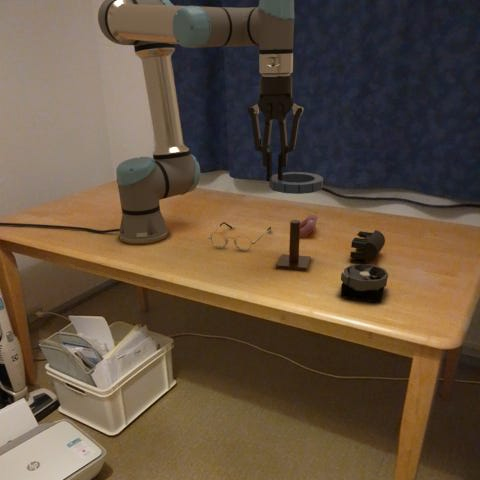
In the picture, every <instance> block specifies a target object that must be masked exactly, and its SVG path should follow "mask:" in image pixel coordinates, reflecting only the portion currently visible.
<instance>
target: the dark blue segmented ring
mask: <svg viewBox="0 0 480 480" xmlns="http://www.w3.org/2000/svg"><path fill="white" fill-rule="evenodd" d="M268 183H269V184H268V188H270V190H272V191H274V192H278V193H282V194H291V195H292V194H293V195H304V194H313V193H316V192H320V191H321V190H322V189H323V186H324V177H323V176H321V175H320V174H317V173H311V172H307V171H304V172H303V171H289V172H288V171H287V172H283V179H282V181H281V180H279V179H278V173H275V174H272V176H271V177H270V178H269V181H268Z"/></svg>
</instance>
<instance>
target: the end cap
mask: <svg viewBox="0 0 480 480" xmlns="http://www.w3.org/2000/svg"><path fill="white" fill-rule="evenodd" d="M356 236H357V237H354V238H353V239H352V240H351V244H350V248H353V249H355V251H350V254H349V257H350V260H349V261H350V263H352V264H369V265H370V263H373V261H375V260H376V259H377V257H378V256H379V254H380V252H381V251H382V249H383V248H384V246H385V245H386V238H385V236H384V234H383V232H381V231H380V230H378V229H377V230H376V229H375V230H374V231H373V232H369V231H361V230H359V231H358V233H357V235H356Z"/></svg>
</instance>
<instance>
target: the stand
mask: <svg viewBox="0 0 480 480" xmlns="http://www.w3.org/2000/svg"><path fill="white" fill-rule="evenodd" d="M300 223H301V220H299V219H292V220H290V221H289V247H288V248H289V249H288V250H289V251H288V254H287V253H286V254H284V253H282V254H281V256H280V258H279V260H278V261H277V263H276V269H277V270H288V271H299V272H307V270H308V267H309V265H310V262H311V258H312V257H311V256H309V255H300V241H301V240H300V239H301V238H300V229H301V228H300Z"/></svg>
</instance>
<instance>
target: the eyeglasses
mask: <svg viewBox="0 0 480 480" xmlns="http://www.w3.org/2000/svg"><path fill="white" fill-rule="evenodd" d="M223 225H226V226H227V227H228V228H229V229H231V230H233V226H231V225H229V224H228V223H226V222H225V221H224V222H221V223H220V224H219V226H218V227H217V228H216V229H215V230H214V231H213V232H212V233H211V234H210V235H209V236H208V240H210V241H211V243H212V245H213V246H214V247H216V248H218V249H223V248H225V247H227V245H228V243H229V239H230V237H229V236H227V237H225V236H224V234H222V233H220V232H219V231H218V229H219V228H221V226H223ZM271 231H272V227H271V226H269V227H268V228H267V229H266V230H265V232H263V233H262V234H261V235H260V236H259V237H258V238H257V239H256V240H255V241H252V239H251V238H250V237H249V236H248V235H246V234H240V235H238V236H237V237H236V238H235V237H231V239H232V240H233V243H234V246H235V248H236V249H238V250H239V251H242V252H245V251H248V250H249V249H251V247H249V248H246V249H243V248H240V247H239V246H238V242H237V239H238V238H239V237H246V238H248V239H249V241H250V246H252V245H255V244H256V243H257V242H258V241H260V240H261V238H262V237H263V236H264V235H265V234H266V233H267V232H268V233H271ZM214 234H219V235H221V236H222V237H223V239H224V245H223V246H218V245H216V244H215V243H214V242H213V239H212V237H213V235H214Z"/></svg>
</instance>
